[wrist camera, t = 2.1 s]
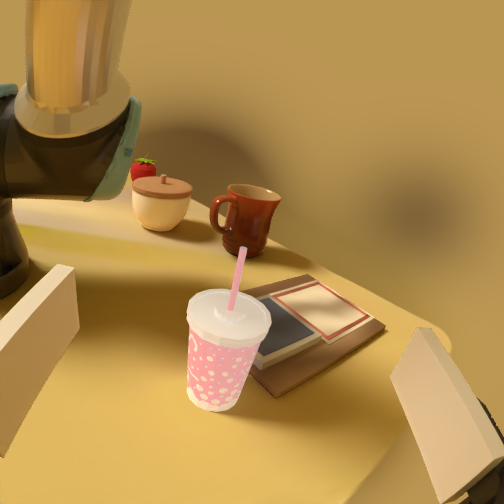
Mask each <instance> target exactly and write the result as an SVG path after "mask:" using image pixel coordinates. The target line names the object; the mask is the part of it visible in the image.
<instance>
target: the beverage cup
mask: <svg viewBox="0 0 504 504" xmlns="http://www.w3.org/2000/svg"><path fill="white" fill-rule="evenodd" d="M246 253H247V248H246V247H243V246H242V247H240V250H239V255H238V260H237V264H236V269H235V274H234V279H233V283H232V288H231V290H229V289H208V290H205V291H202V292H199V293H197V294H195V295H194V296H193V297H192V298H191V299H190V300H189V303H188V308H187V318H186V319H187V321H188V323H189V346H188V372H187V393H188V396H189V398H190V400H191V401H192V402H193V403H194V404H195V405H196V406H198V407H200V408H202V409H204V410H207V411H214V412H219V411H224V410H228V409H229V408H231V407H232V406H234V405H235V403H236V402H237V400H238V398H239V395H240V393H241V391H242V388H243V386H244V383H245V381H246V378H247V376H248V373H249V371H250V368H251V366H252V363H253V361H254V358H255V356H256V353H257V351H258V348H259V345H260V343H261V341H262V340H264V338H265V337H266V335H267V333H268V331H269V328H270V326H271V323H272V322H271V315H270V312H269V311H268V309H267V308H266V307H265V306H264V304H263V303H261V302H260V301H258V300H257V299H255V298H254V297H252V296H250V295H247V294H245V293H242V292H239V291H238V288H239V284H240V279H241V275H242V271H243V266H244V262H245V257H246Z"/></svg>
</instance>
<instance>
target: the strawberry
mask: <svg viewBox="0 0 504 504" xmlns="http://www.w3.org/2000/svg"><path fill="white" fill-rule="evenodd" d="M147 155H148V154H147ZM135 161H139V162H135V163H134V164H133V165H132V166H131V170H130V172H131V178H132V181H134V180H136V179H138V178H142V177H155V175H156V168H155V166H154V165H153V164H154V163H153V162H156V161H154V160H149V161H148V160H147V159H143V158H140V159H135Z"/></svg>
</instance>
